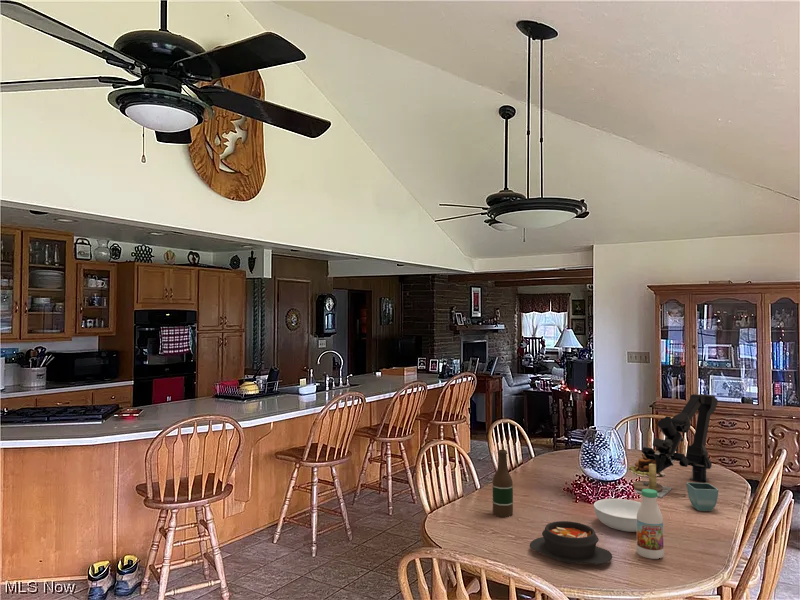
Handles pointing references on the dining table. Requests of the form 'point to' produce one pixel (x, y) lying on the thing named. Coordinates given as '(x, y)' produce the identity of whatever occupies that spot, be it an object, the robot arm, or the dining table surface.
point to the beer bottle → (502, 488)
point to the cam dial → (651, 483)
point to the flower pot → (702, 496)
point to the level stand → (660, 493)
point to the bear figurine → (644, 467)
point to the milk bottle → (649, 526)
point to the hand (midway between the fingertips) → (656, 472)
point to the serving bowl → (618, 513)
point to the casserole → (570, 543)
